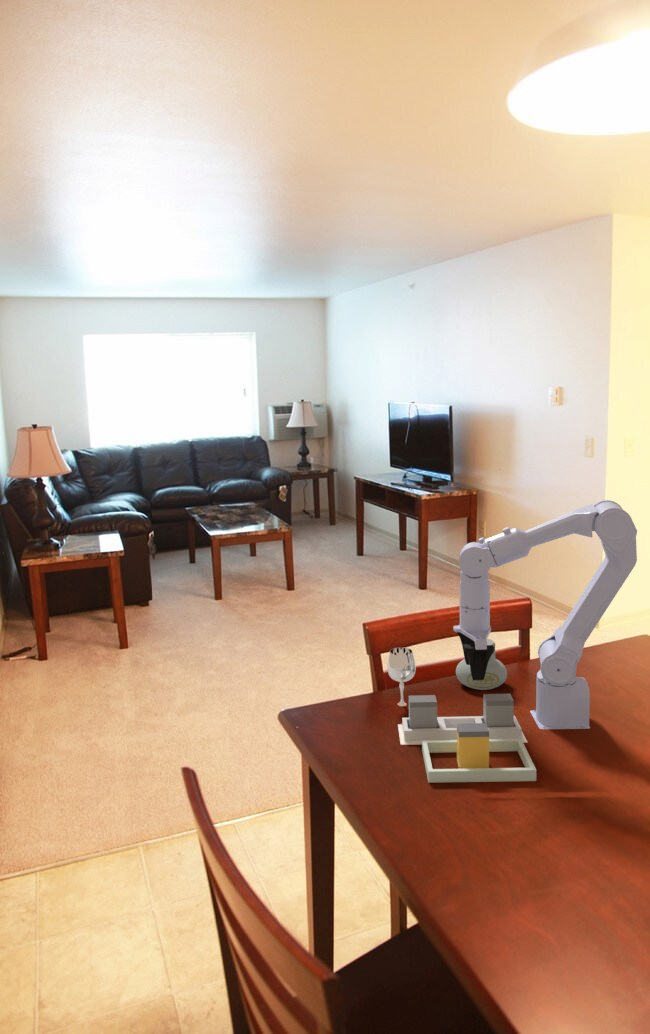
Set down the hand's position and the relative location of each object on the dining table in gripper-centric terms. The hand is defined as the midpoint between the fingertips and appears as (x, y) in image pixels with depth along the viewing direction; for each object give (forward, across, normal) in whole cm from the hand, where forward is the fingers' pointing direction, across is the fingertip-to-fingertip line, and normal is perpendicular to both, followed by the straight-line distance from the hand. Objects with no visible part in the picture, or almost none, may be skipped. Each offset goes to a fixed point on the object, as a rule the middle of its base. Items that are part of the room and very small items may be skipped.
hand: (474, 671), depth 140 cm
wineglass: (+10, -5, -14) cm, 18 cm away
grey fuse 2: (+9, +8, +3) cm, 12 cm away
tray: (+9, +20, -3) cm, 22 cm away
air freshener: (+10, -15, +4) cm, 18 cm away
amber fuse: (+9, +20, -4) cm, 22 cm away
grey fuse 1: (+9, +8, -11) cm, 16 cm away
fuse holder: (+9, +8, -4) cm, 13 cm away
